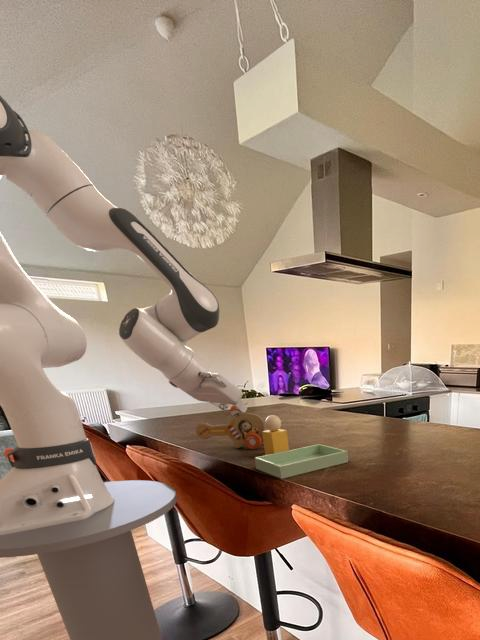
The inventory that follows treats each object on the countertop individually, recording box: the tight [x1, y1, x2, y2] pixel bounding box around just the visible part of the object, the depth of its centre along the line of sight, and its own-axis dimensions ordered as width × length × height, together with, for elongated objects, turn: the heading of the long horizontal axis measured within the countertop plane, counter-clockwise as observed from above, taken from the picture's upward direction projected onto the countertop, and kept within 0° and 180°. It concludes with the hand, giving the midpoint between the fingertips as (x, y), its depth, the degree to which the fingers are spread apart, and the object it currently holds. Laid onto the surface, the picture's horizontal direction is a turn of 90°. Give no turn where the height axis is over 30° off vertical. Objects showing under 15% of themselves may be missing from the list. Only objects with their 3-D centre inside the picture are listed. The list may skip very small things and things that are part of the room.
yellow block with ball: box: [262, 414, 290, 455], centre depth 119 cm, size 5×5×11 cm
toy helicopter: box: [195, 402, 266, 450], centre depth 130 cm, size 8×21×14 cm, turn 94°
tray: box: [254, 443, 349, 480], centre depth 109 cm, size 20×13×3 cm
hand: (235, 409), depth 110 cm, fingers open, 8 cm apart
